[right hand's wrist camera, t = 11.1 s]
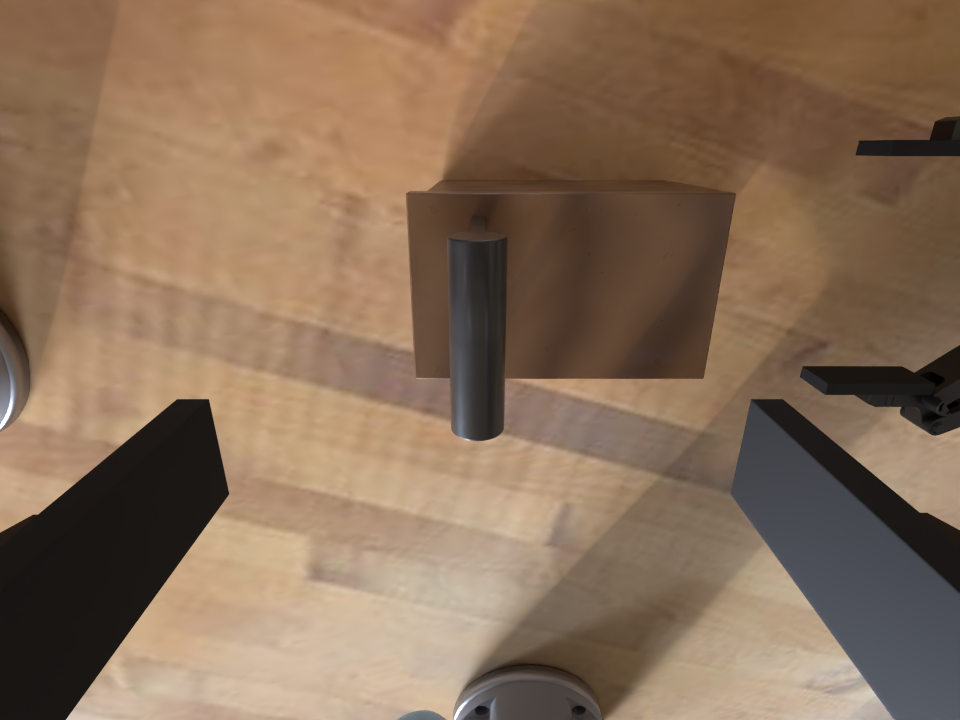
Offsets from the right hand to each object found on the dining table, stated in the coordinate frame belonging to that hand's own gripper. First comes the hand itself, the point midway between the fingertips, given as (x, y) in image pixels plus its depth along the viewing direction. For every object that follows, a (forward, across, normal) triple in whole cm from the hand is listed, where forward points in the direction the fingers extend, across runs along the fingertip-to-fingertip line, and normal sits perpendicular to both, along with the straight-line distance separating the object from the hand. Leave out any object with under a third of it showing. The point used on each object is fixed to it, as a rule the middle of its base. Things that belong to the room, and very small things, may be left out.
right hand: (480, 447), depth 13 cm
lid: (+16, -4, 0) cm, 17 cm away
